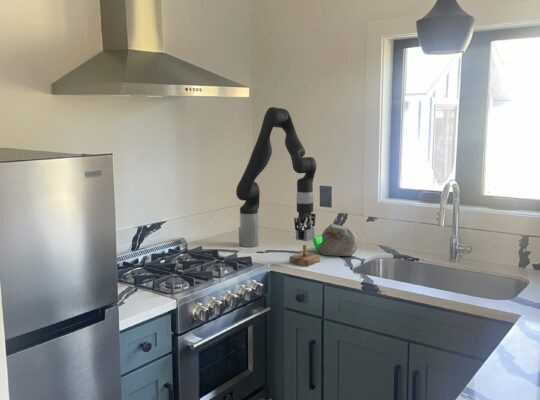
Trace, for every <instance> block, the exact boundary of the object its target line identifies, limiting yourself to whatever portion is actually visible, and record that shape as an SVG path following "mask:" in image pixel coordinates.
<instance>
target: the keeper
mask: <svg viewBox="0 0 540 400" xmlns="http://www.w3.org/2000/svg"><path fill="white" fill-rule="evenodd" d="M320 262H321V255H319V254H315V253H310V252H309V253H308V245H307V244H303V245H302V251H301V252H299V253H296V254H293V255H291V256H289V264H293V265H298V266H302V267H307V266H308V267H311V266H313V265H315V263H316V264H317V263H320ZM310 265H311V266H310Z"/></svg>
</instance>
